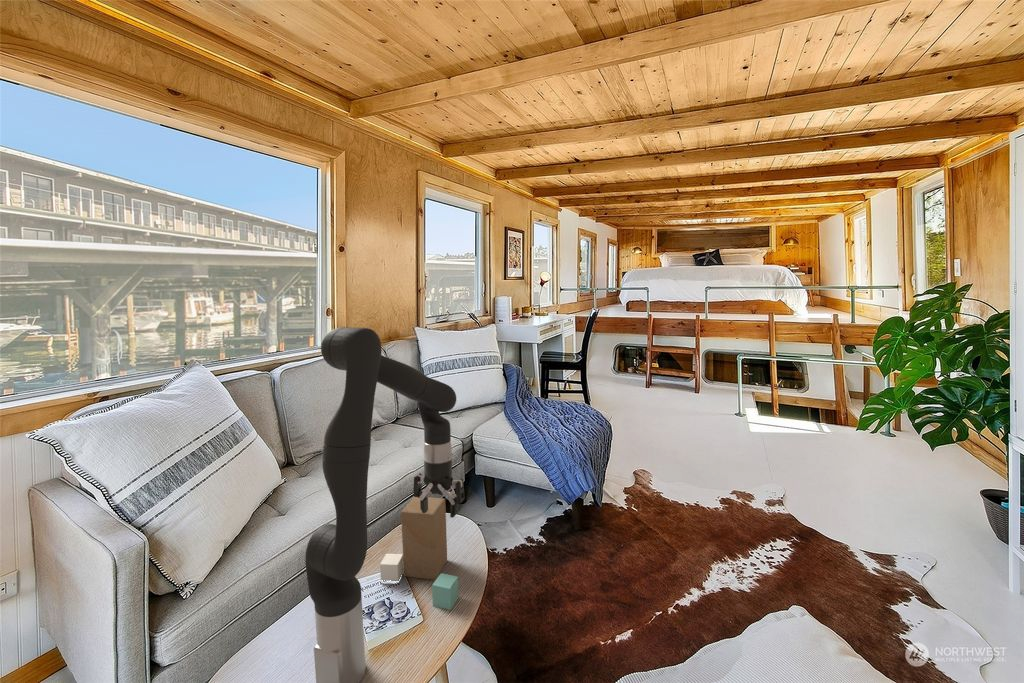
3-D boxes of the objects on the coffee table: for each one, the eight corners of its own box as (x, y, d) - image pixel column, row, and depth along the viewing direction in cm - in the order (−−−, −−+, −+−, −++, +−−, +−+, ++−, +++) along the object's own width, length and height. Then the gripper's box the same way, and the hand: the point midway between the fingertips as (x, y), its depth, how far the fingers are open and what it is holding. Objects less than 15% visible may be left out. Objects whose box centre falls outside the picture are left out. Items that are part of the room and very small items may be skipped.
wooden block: (435, 581, 125) (433, 514, 123) (403, 576, 127) (400, 511, 125) (447, 559, 135) (445, 498, 132) (417, 556, 137) (414, 495, 134)
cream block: (398, 584, 124) (397, 564, 123) (381, 584, 124) (380, 564, 123) (403, 573, 129) (402, 554, 128) (386, 572, 129) (386, 553, 128)
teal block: (450, 610, 114) (449, 588, 113) (432, 606, 115) (432, 584, 115) (458, 597, 118) (457, 576, 118) (441, 593, 120) (441, 573, 119)
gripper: (407, 459, 118) (409, 516, 119) (456, 464, 114) (457, 524, 115) (421, 449, 125) (422, 504, 127) (467, 454, 121) (468, 511, 122)
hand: (439, 514), depth 121 cm, fingers open, 8 cm apart
